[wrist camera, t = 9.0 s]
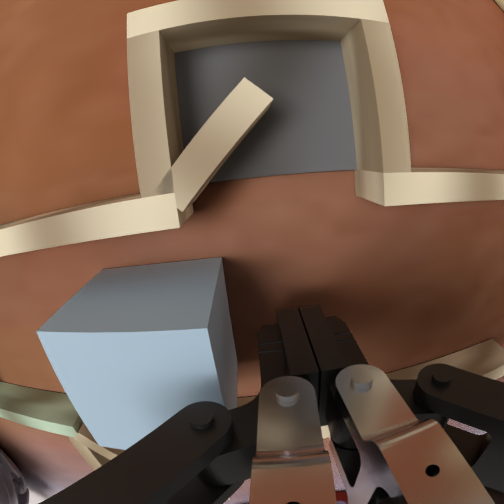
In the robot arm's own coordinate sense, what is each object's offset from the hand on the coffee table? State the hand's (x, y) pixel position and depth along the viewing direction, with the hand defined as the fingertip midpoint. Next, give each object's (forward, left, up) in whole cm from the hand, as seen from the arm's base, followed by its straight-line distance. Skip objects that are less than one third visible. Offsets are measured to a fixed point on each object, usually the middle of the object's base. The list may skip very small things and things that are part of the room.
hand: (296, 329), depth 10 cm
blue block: (+5, 0, -2) cm, 5 cm away
